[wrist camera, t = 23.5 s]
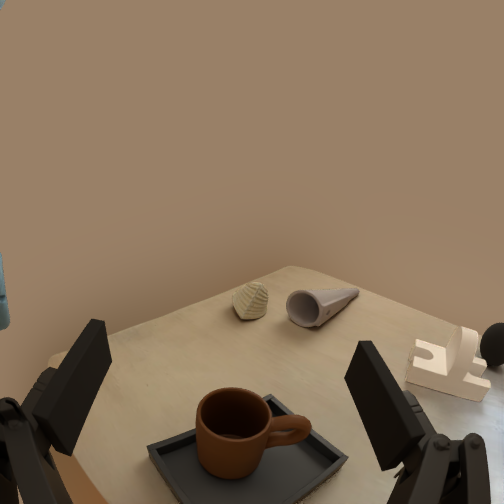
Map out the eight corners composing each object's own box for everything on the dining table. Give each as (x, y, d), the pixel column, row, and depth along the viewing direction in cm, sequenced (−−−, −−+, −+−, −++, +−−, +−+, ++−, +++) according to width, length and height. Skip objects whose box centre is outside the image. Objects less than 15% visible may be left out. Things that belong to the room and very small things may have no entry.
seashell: (275, 294, 66) (279, 293, 58) (256, 326, 65) (257, 329, 57) (245, 276, 67) (245, 272, 59) (226, 307, 66) (223, 307, 58)
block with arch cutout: (404, 381, 43) (429, 331, 39) (409, 353, 51) (429, 307, 47) (481, 402, 34) (510, 356, 31) (477, 373, 42) (500, 330, 39)
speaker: (487, 347, 51) (503, 313, 48) (509, 369, 42) (528, 333, 38) (466, 353, 50) (484, 316, 46) (490, 378, 40) (512, 340, 37)
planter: (337, 269, 80) (290, 284, 60) (364, 278, 75) (326, 299, 55) (330, 294, 82) (282, 317, 62) (357, 304, 76) (316, 333, 56)
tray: (149, 455, 26) (146, 445, 25) (268, 404, 38) (270, 393, 37) (218, 549, 16) (218, 546, 15) (341, 466, 27) (349, 457, 26)
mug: (294, 436, 32) (312, 390, 29) (298, 483, 24) (322, 445, 21) (201, 429, 31) (201, 381, 28) (192, 477, 24) (189, 437, 21)
